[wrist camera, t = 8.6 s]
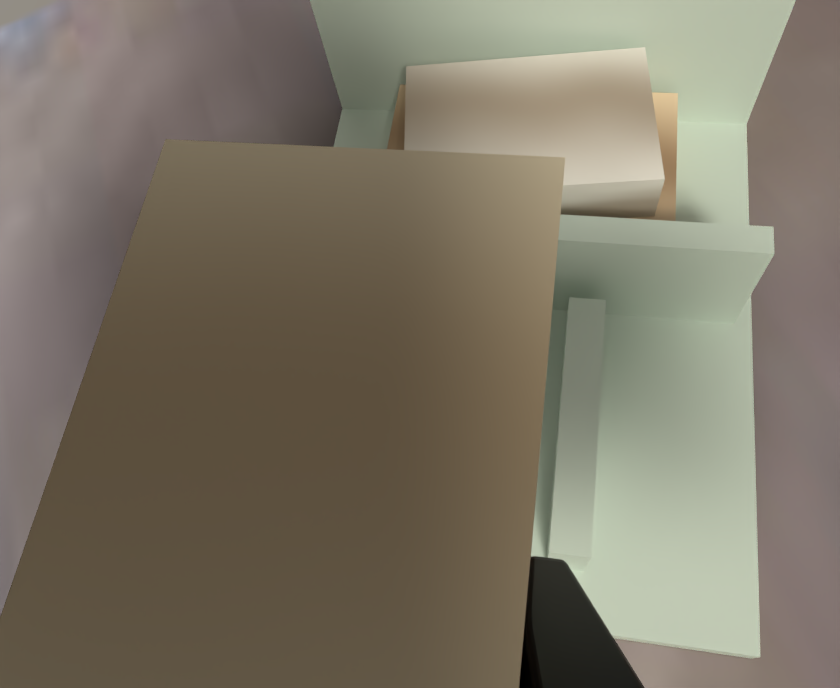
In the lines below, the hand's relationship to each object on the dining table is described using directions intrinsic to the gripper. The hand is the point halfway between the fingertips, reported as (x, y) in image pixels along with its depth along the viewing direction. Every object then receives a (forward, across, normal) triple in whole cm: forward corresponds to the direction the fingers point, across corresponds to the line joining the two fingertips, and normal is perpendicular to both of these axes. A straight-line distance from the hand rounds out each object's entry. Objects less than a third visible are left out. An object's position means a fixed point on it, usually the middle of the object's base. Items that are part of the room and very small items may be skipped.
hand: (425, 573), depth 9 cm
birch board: (+4, 0, +5) cm, 6 cm away
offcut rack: (+16, 0, +3) cm, 16 cm away
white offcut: (+17, 0, -3) cm, 17 cm away
